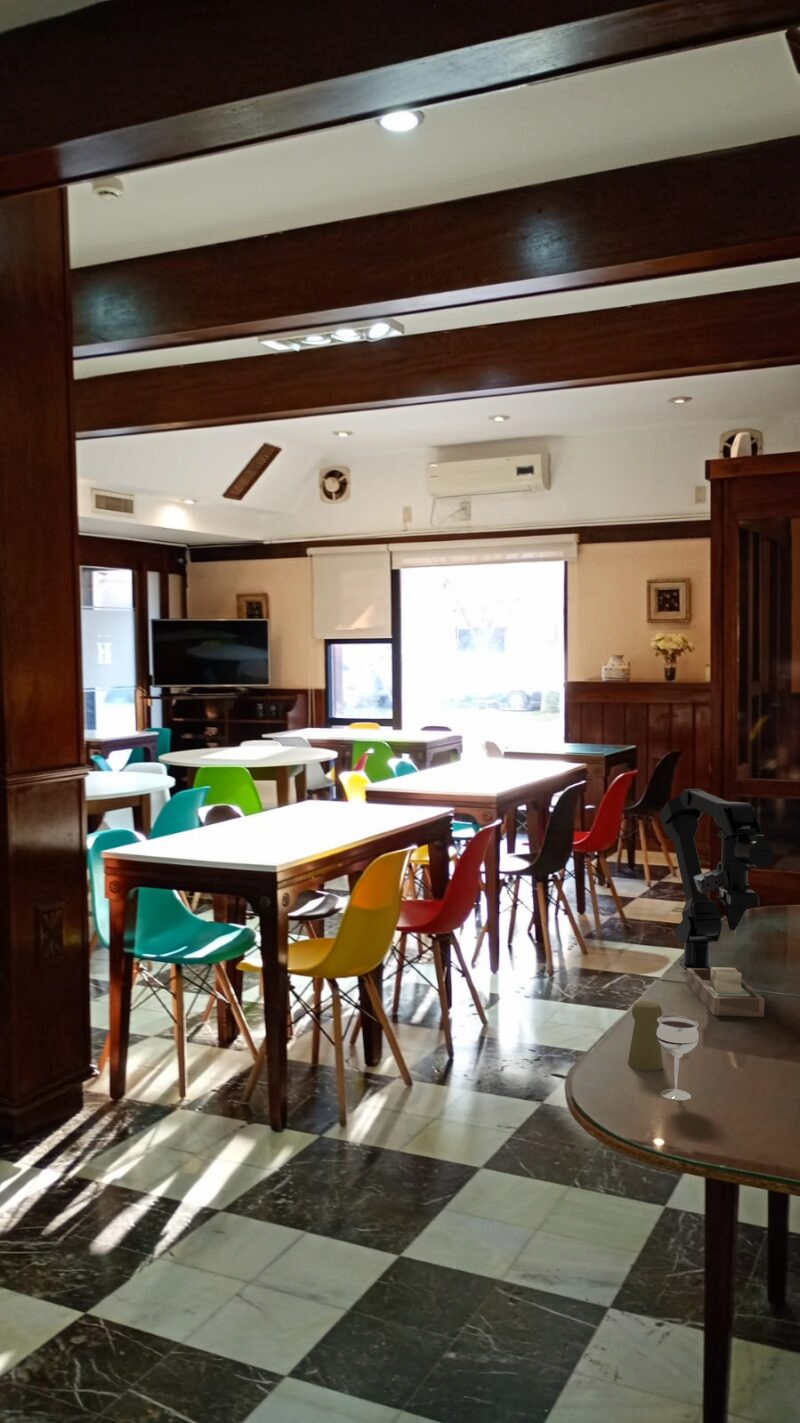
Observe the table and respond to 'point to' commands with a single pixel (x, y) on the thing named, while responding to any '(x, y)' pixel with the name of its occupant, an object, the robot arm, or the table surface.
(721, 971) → the block
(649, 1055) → the cork
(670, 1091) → the wineglass
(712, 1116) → the table surface
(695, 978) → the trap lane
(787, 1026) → the table surface
